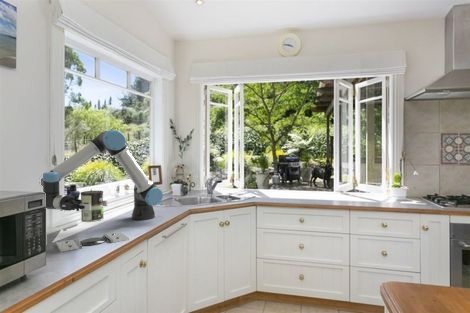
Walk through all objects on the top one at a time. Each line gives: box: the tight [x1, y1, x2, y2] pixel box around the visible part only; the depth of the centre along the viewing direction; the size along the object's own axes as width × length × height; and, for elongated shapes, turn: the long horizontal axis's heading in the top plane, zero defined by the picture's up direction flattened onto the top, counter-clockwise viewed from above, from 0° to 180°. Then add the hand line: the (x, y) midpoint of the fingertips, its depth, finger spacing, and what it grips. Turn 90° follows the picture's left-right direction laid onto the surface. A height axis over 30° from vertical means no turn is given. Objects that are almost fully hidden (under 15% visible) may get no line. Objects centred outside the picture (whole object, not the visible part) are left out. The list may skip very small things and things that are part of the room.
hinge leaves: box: [55, 231, 130, 253], centre depth 158 cm, size 31×14×1 cm, turn 127°
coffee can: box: [80, 190, 104, 223], centre depth 157 cm, size 10×10×14 cm
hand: (99, 205), depth 156 cm, fingers closed on coffee can, 10 cm apart
